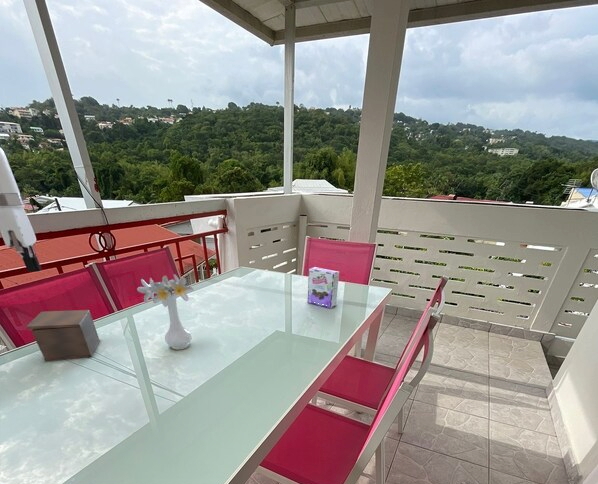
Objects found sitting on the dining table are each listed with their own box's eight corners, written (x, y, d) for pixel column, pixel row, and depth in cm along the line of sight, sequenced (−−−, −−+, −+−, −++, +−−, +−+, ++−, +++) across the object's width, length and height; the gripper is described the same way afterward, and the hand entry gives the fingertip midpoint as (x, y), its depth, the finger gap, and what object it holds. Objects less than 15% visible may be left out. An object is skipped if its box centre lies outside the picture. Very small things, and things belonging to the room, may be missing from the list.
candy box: (306, 302, 165) (308, 268, 156) (313, 299, 169) (314, 266, 160) (330, 308, 159) (333, 273, 150) (336, 305, 163) (339, 270, 154)
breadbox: (45, 361, 109) (31, 330, 103) (57, 344, 120) (45, 315, 114) (91, 357, 113) (80, 326, 106) (99, 340, 123) (90, 312, 117)
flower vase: (161, 337, 127) (145, 270, 113) (208, 340, 126) (198, 272, 112) (145, 353, 116) (125, 280, 102) (196, 356, 115) (184, 282, 101)
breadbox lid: (27, 329, 103) (26, 326, 102) (42, 313, 113) (41, 311, 113) (80, 326, 106) (79, 324, 106) (90, 312, 117) (89, 309, 117)
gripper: (2, 198, 95) (29, 265, 106) (-24, 203, 83) (10, 277, 94) (32, 199, 97) (56, 264, 107) (11, 203, 85) (40, 276, 96)
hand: (34, 270), depth 101 cm, fingers closed
